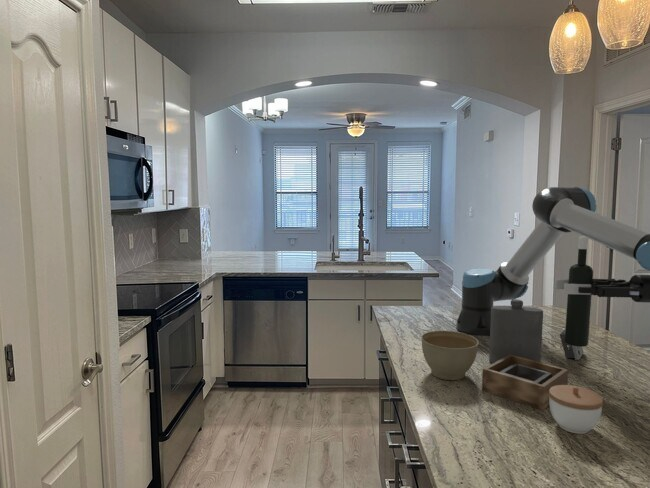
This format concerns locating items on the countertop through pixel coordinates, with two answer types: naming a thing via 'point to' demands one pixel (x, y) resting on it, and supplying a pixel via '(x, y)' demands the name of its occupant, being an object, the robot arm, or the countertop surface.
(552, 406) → the lidded jar
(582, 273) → the wine bottle
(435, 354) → the planter bowl
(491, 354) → the flask
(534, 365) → the crate
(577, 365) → the countertop surface
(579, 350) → the electrical switch
